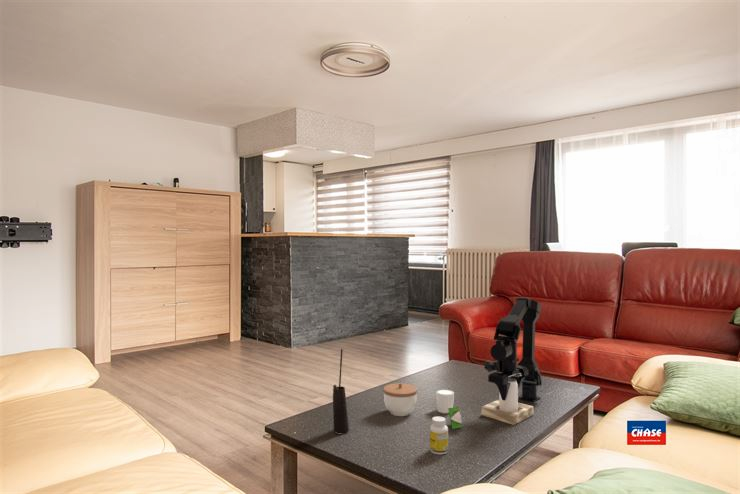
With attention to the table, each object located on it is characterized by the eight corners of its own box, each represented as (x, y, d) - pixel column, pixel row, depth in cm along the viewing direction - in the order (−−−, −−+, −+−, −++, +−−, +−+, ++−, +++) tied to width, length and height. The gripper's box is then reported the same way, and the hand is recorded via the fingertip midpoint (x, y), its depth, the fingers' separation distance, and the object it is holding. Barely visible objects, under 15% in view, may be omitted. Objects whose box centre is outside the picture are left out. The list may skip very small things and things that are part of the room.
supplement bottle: (428, 447, 141) (428, 415, 141) (445, 446, 142) (445, 415, 142) (432, 455, 136) (432, 422, 136) (450, 454, 136) (450, 421, 136)
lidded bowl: (424, 412, 171) (424, 382, 171) (402, 421, 162) (402, 390, 162) (398, 404, 180) (397, 376, 180) (376, 413, 171) (376, 383, 171)
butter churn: (321, 427, 157) (321, 345, 157) (347, 423, 161) (347, 343, 161) (329, 437, 148) (329, 351, 149) (356, 433, 152) (356, 348, 152)
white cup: (454, 414, 169) (454, 395, 169) (435, 413, 170) (435, 394, 170) (454, 408, 176) (454, 389, 176) (436, 406, 177) (436, 388, 177)
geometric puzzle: (438, 416, 161) (446, 403, 157) (455, 414, 164) (462, 400, 159) (447, 435, 156) (455, 421, 151) (464, 431, 158) (472, 418, 154)
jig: (501, 405, 178) (501, 398, 178) (533, 414, 169) (533, 406, 169) (481, 414, 168) (481, 406, 168) (513, 424, 159) (513, 416, 159)
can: (498, 414, 165) (498, 380, 165) (500, 408, 171) (500, 376, 171) (517, 416, 163) (517, 382, 163) (518, 410, 169) (518, 377, 169)
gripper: (502, 347, 179) (502, 387, 179) (475, 355, 167) (475, 398, 167) (529, 352, 171) (529, 394, 171) (502, 361, 159) (502, 406, 159)
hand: (508, 397), depth 167 cm, fingers closed on can, 6 cm apart
